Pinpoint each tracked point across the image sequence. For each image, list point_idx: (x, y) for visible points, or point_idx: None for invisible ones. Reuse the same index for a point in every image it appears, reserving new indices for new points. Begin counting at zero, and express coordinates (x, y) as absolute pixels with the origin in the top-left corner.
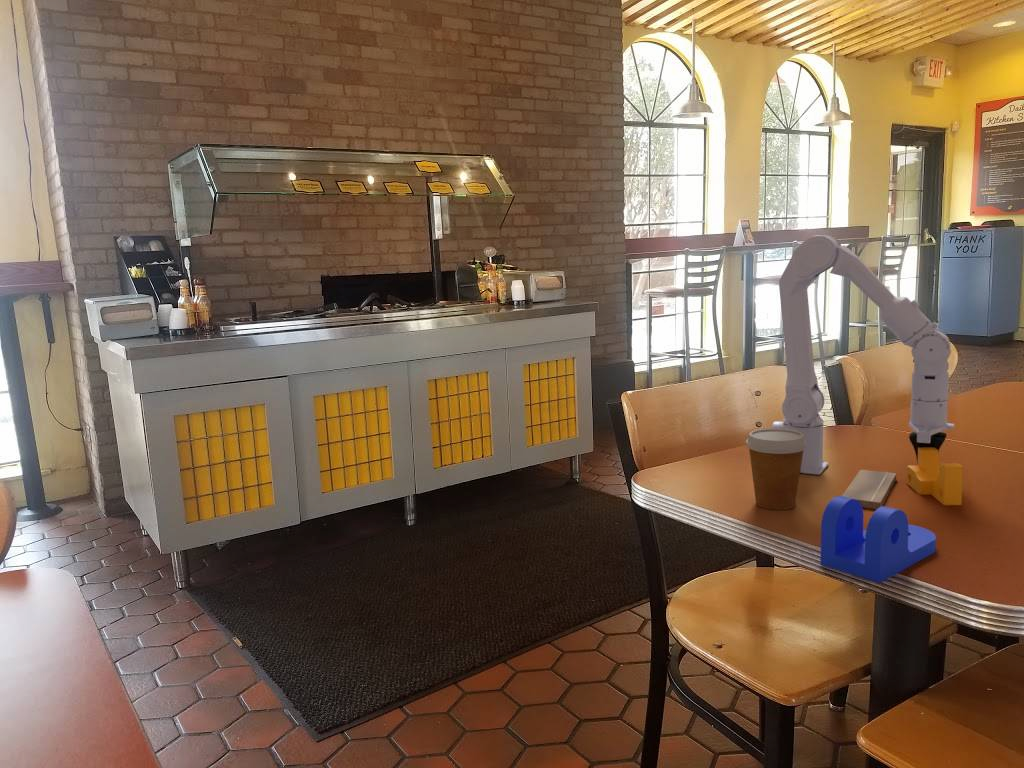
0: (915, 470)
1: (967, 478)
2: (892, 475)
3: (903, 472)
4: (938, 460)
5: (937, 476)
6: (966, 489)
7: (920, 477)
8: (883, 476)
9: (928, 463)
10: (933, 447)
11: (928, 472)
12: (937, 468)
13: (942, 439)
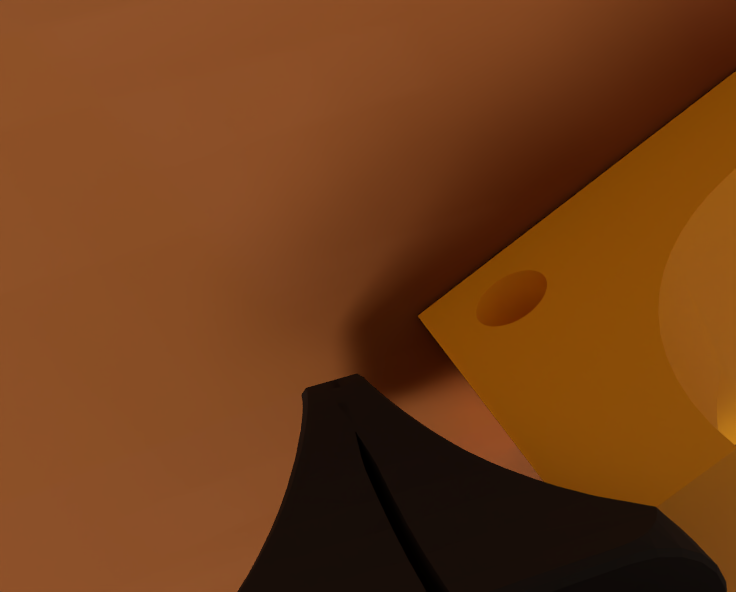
0: (728, 435)
1: (40, 118)
2: None
3: (234, 580)
4: (663, 357)
5: (724, 248)
6: (456, 15)
7: None
8: None
9: (704, 406)
10: None
11: (718, 338)
12: (672, 305)
13: (673, 574)
